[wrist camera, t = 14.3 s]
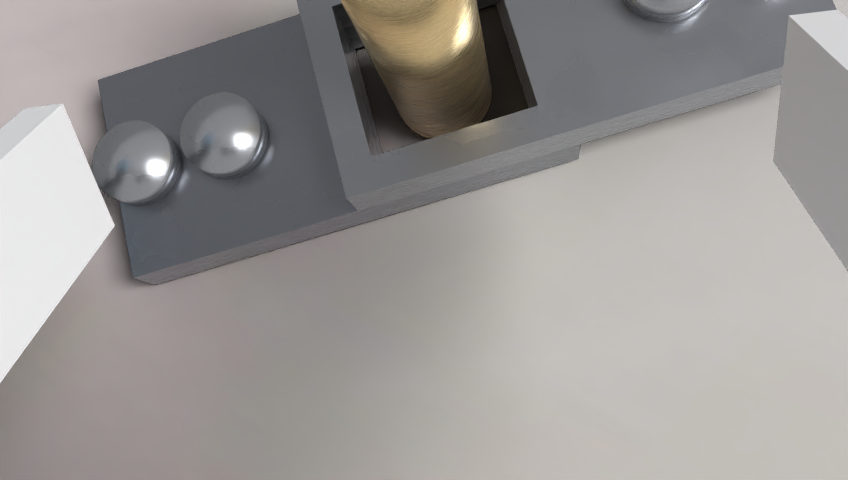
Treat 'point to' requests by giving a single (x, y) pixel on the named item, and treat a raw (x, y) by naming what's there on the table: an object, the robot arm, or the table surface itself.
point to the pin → (427, 59)
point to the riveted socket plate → (355, 129)
